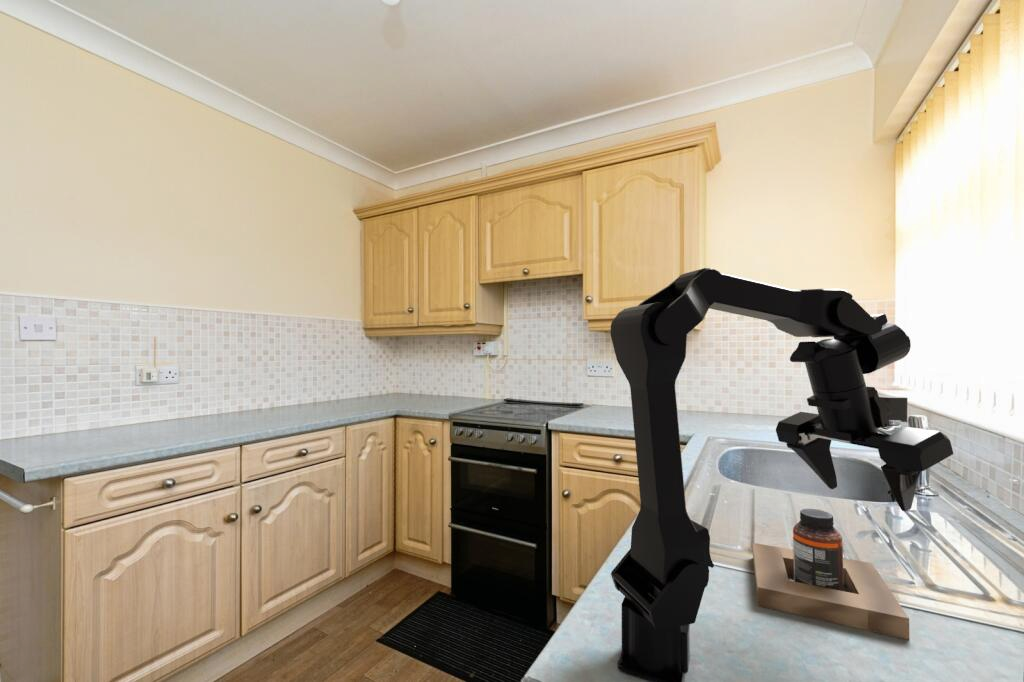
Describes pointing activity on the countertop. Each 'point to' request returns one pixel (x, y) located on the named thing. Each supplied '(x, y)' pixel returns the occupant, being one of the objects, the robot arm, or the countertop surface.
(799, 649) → the countertop surface
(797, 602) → the square wooden frame
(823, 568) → the supplement bottle
